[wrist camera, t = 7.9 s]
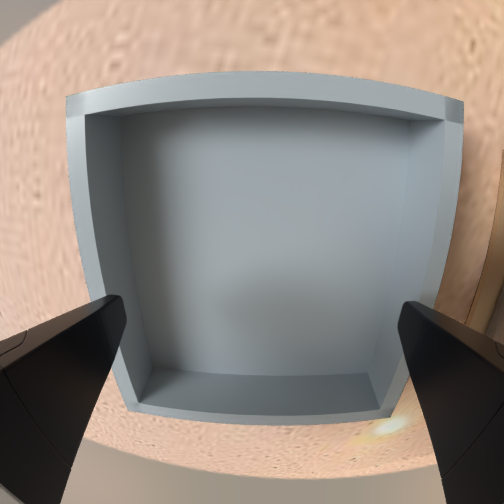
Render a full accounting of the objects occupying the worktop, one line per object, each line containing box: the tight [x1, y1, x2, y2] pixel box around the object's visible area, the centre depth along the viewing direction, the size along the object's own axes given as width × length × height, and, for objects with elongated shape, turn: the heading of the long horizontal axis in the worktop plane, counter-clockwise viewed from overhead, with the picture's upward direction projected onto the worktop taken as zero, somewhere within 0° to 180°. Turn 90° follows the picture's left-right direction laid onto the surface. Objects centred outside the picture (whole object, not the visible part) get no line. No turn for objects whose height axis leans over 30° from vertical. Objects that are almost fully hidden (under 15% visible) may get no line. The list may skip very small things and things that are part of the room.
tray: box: [66, 71, 464, 425], centre depth 12 cm, size 14×13×4 cm
